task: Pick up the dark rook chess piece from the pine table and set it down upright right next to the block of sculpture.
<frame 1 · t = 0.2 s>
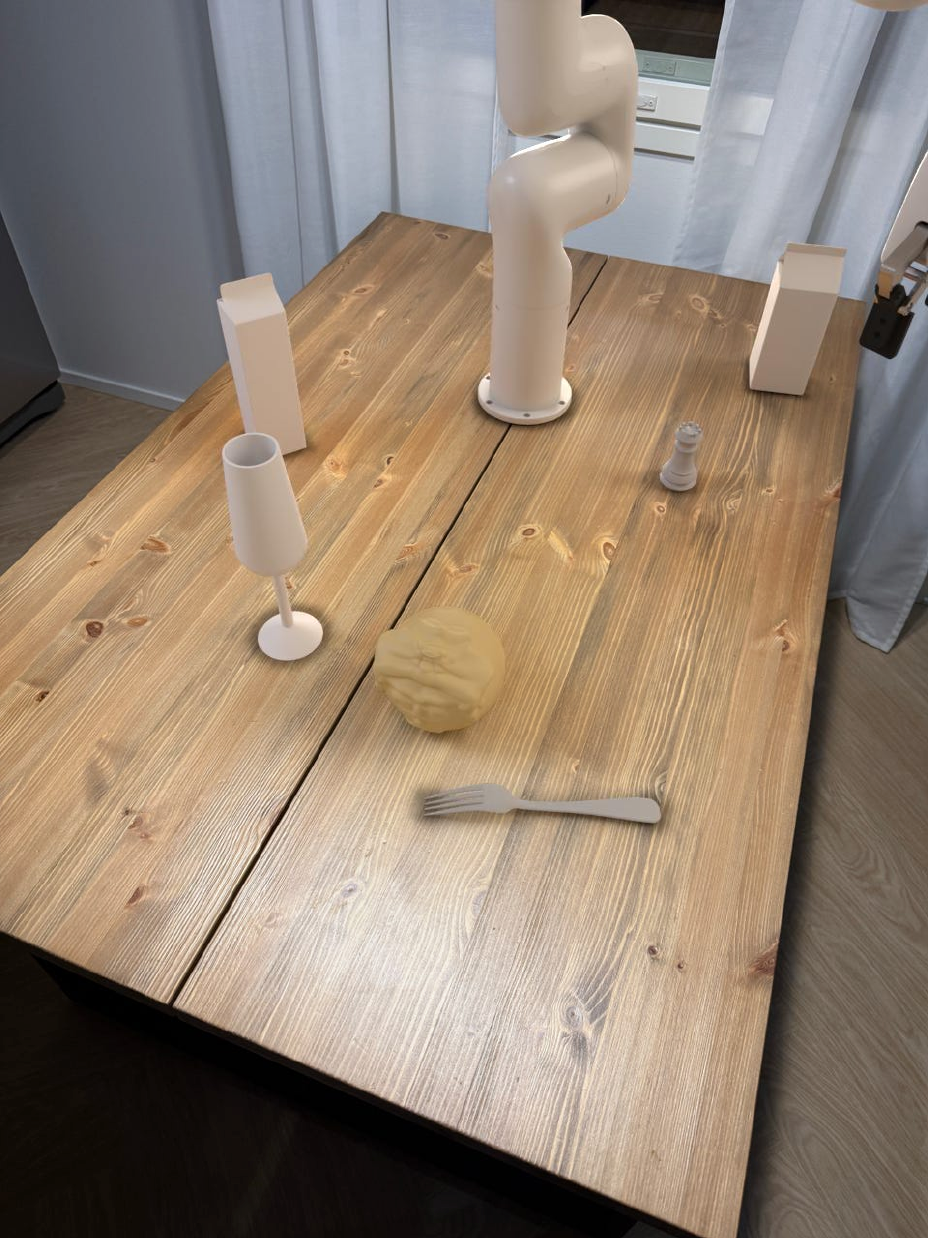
hand: (909, 330, 74), 31 cm above the table, tool pointing down, fingers open, 9 cm apart
champagne flute: (290, 636, 92), on the table
rook chess piece: (676, 482, 109), on the table
milk: (276, 443, 113), on the table
sculpture: (443, 700, 87), on the table
fork: (542, 811, 79), on the table
milk carton: (774, 379, 123), on the table
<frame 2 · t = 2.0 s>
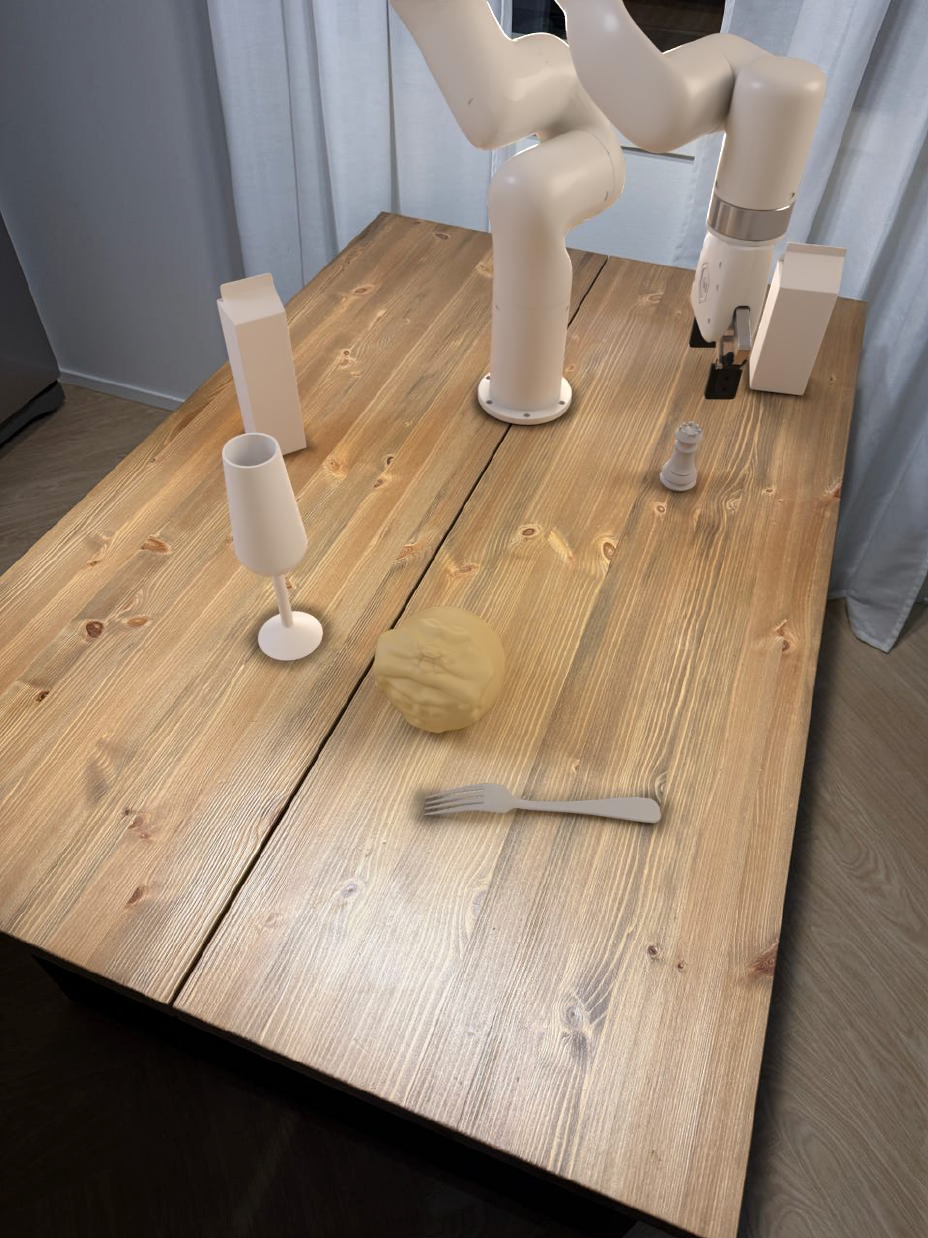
hand: (710, 371, 96), 16 cm above the table, tool pointing down, fingers open, 9 cm apart
nothing on the table moved.
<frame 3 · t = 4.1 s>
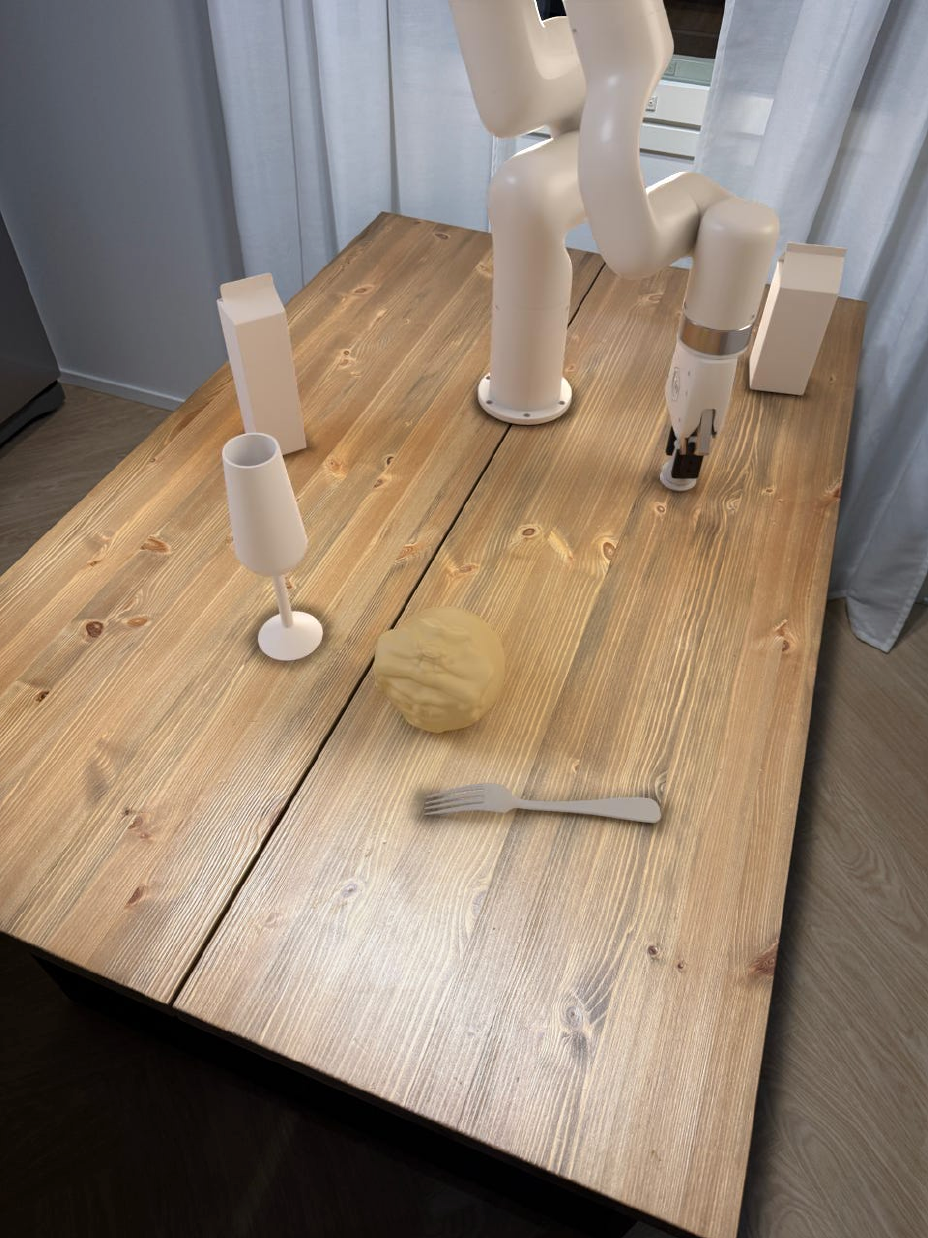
hand: (681, 464, 107), 3 cm above the table, tool pointing down, fingers closed on rook chess piece, 3 cm apart
rook chess piece: (676, 482, 109), on the table, touching gripper
everything else where it was.
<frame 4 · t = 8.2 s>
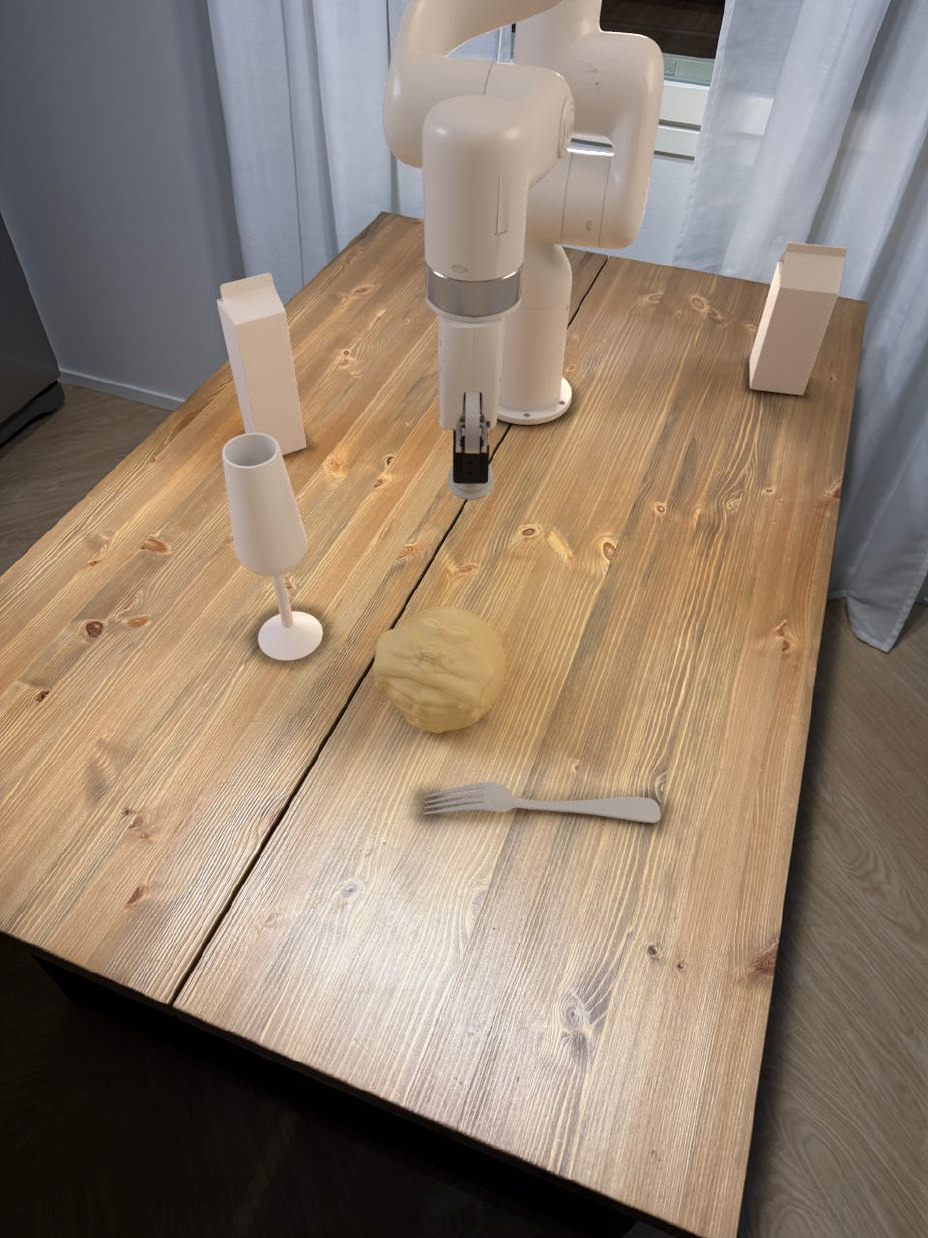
hand: (470, 465, 83), 18 cm above the table, tool pointing down, fingers closed on rook chess piece, 3 cm apart
rook chess piece: (470, 488, 85), point 15 cm above the table, touching gripper
everything else where it was.
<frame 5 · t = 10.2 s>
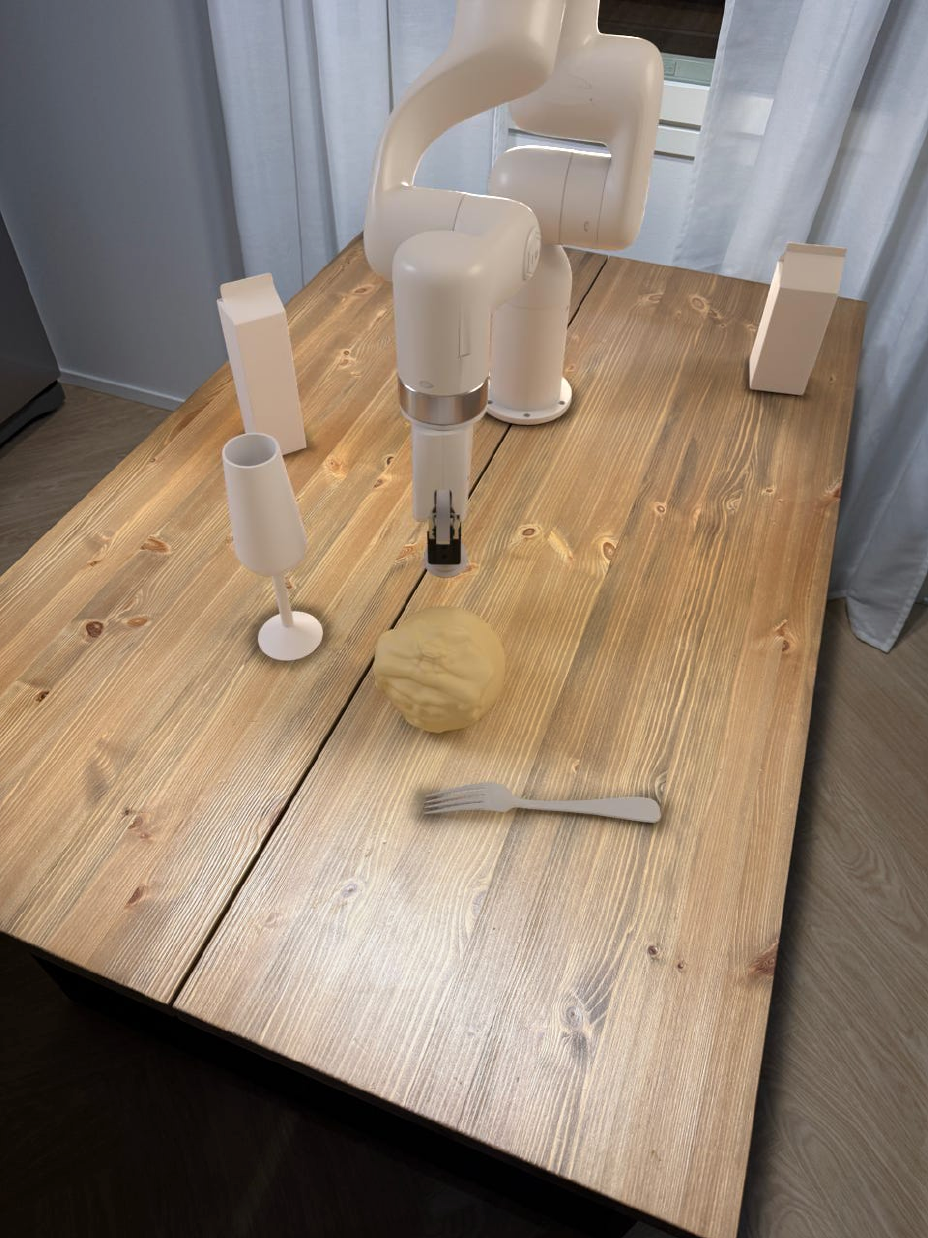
hand: (444, 545, 88), 9 cm above the table, tool pointing down, fingers closed on rook chess piece, 3 cm apart
rook chess piece: (445, 566, 90), point 6 cm above the table, touching gripper
everything else where it was.
when the fingers open (3 cm above the table, at t = 12.1 s): rook chess piece stays where it is, on the table.
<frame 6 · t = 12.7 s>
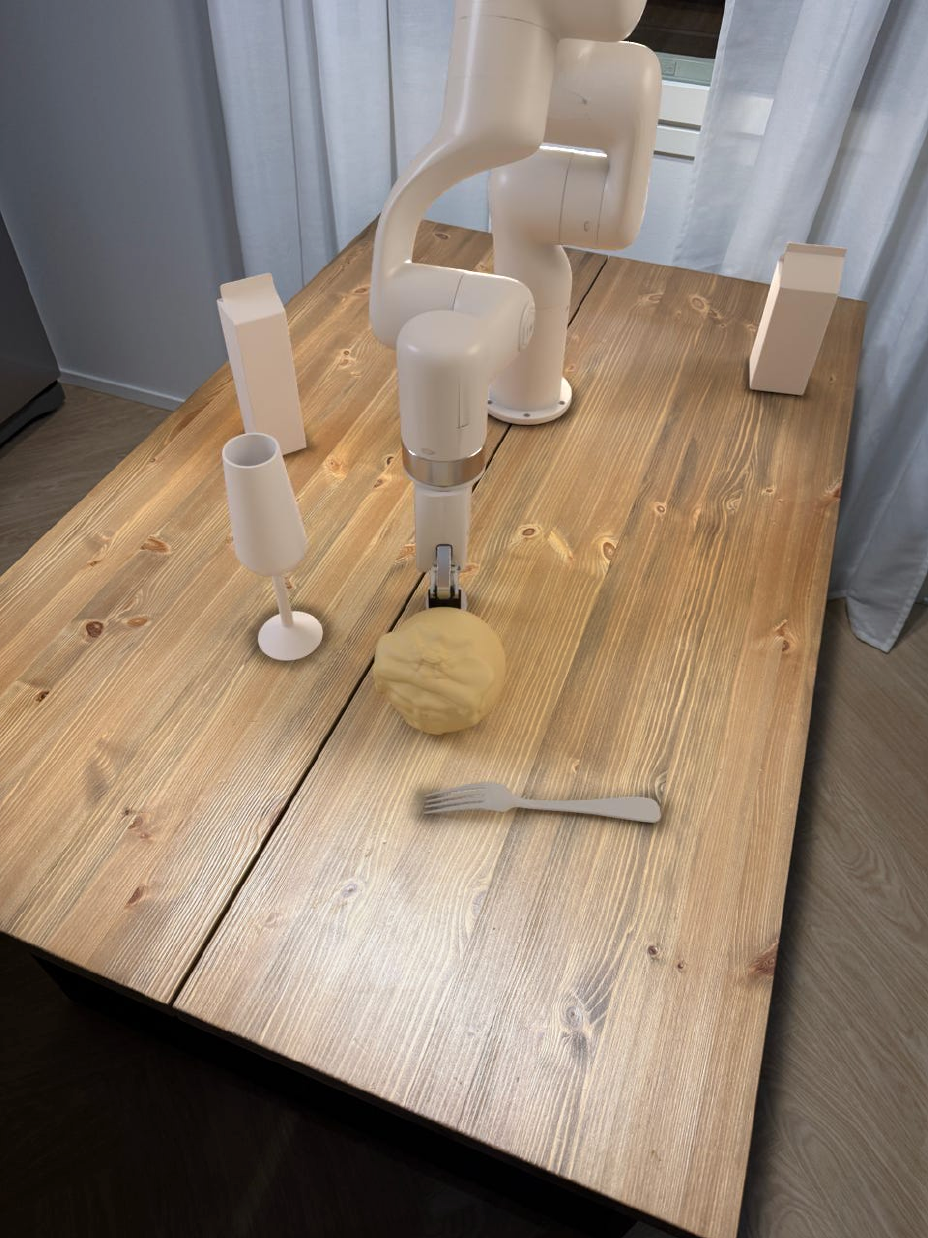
hand: (445, 582, 92), 4 cm above the table, tool pointing down, fingers open, 9 cm apart
rook chess piece: (446, 608, 95), on the table
sculpture: (443, 699, 87), on the table, touching gripper
everything else where it was.
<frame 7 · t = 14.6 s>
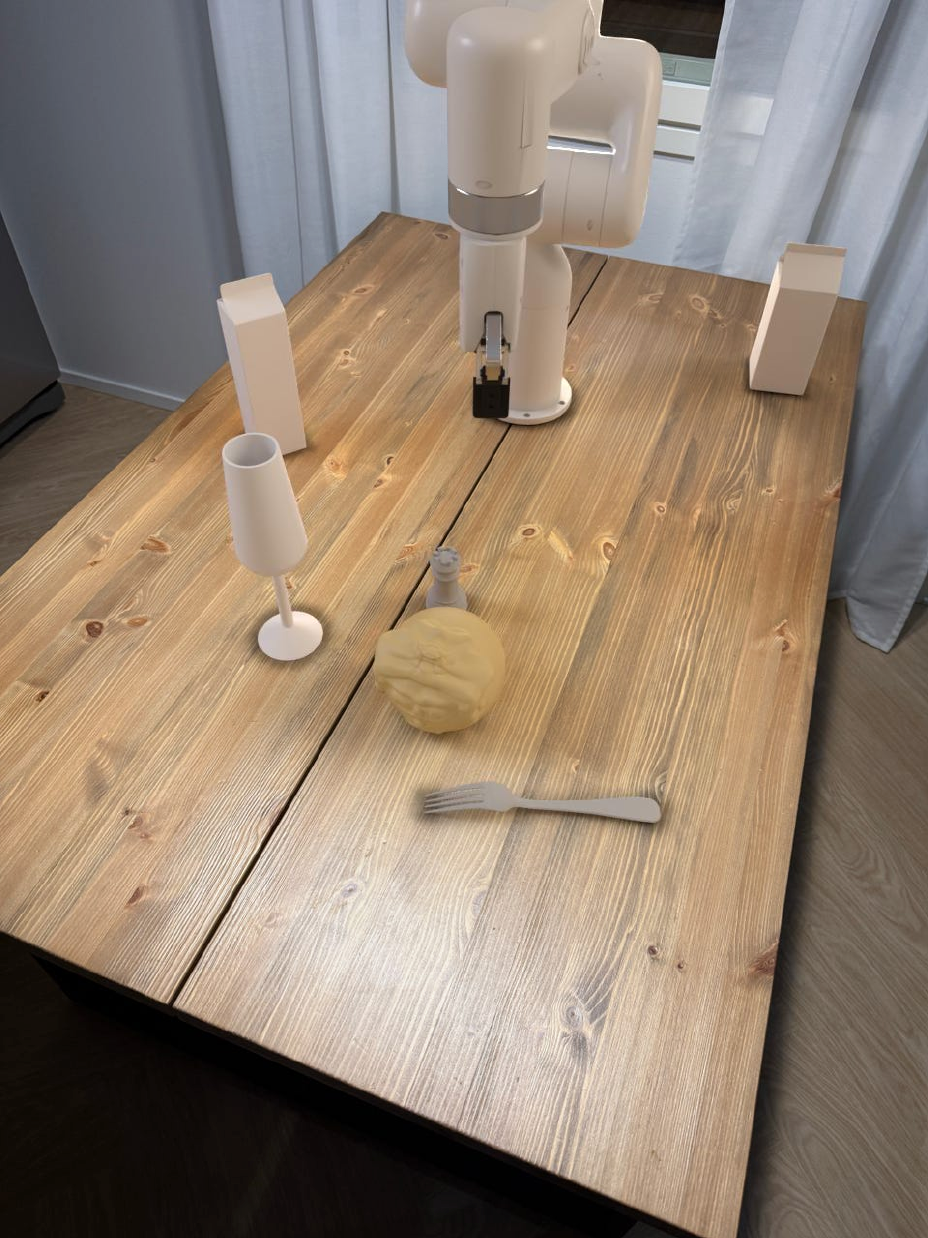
hand: (490, 383, 83), 23 cm above the table, tool pointing down, fingers open, 9 cm apart
sculpture: (443, 701, 87), on the table
everything else where it was.
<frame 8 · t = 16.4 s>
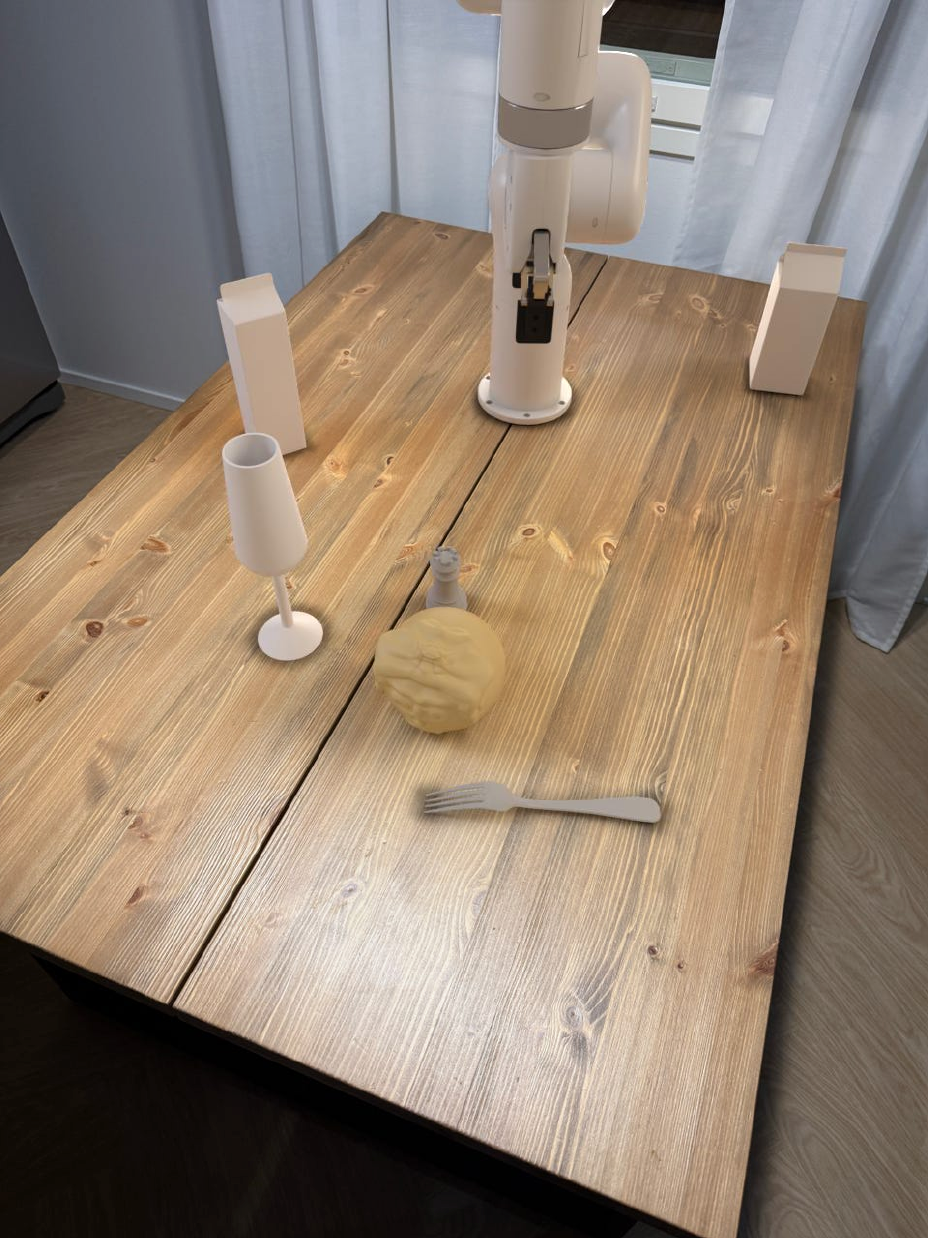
hand: (530, 313, 84), 26 cm above the table, tool pointing down, fingers open, 9 cm apart
nothing on the table moved.
at the end: rook chess piece 12.1 cm from the sculpture (horizontally); rook chess piece tilted 0°; sculpture moved 0.2 cm from its start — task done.
